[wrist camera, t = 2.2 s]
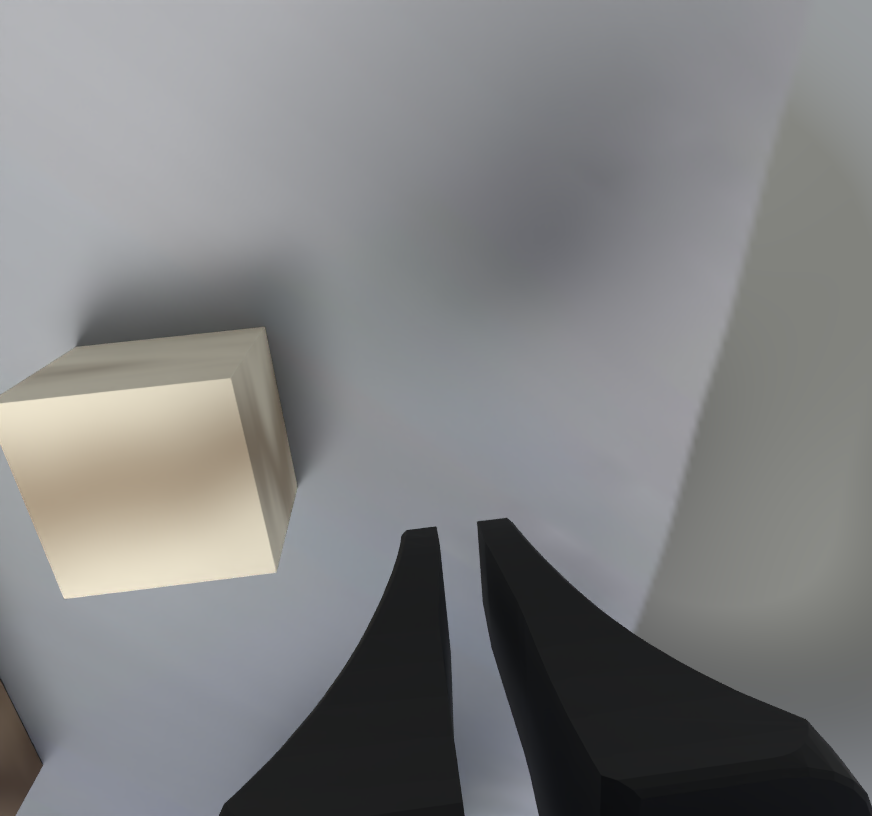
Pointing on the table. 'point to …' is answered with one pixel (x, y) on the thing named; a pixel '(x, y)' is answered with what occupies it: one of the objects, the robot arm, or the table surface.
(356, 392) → the table surface
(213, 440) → the birch block
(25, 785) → the walnut board
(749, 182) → the table surface
